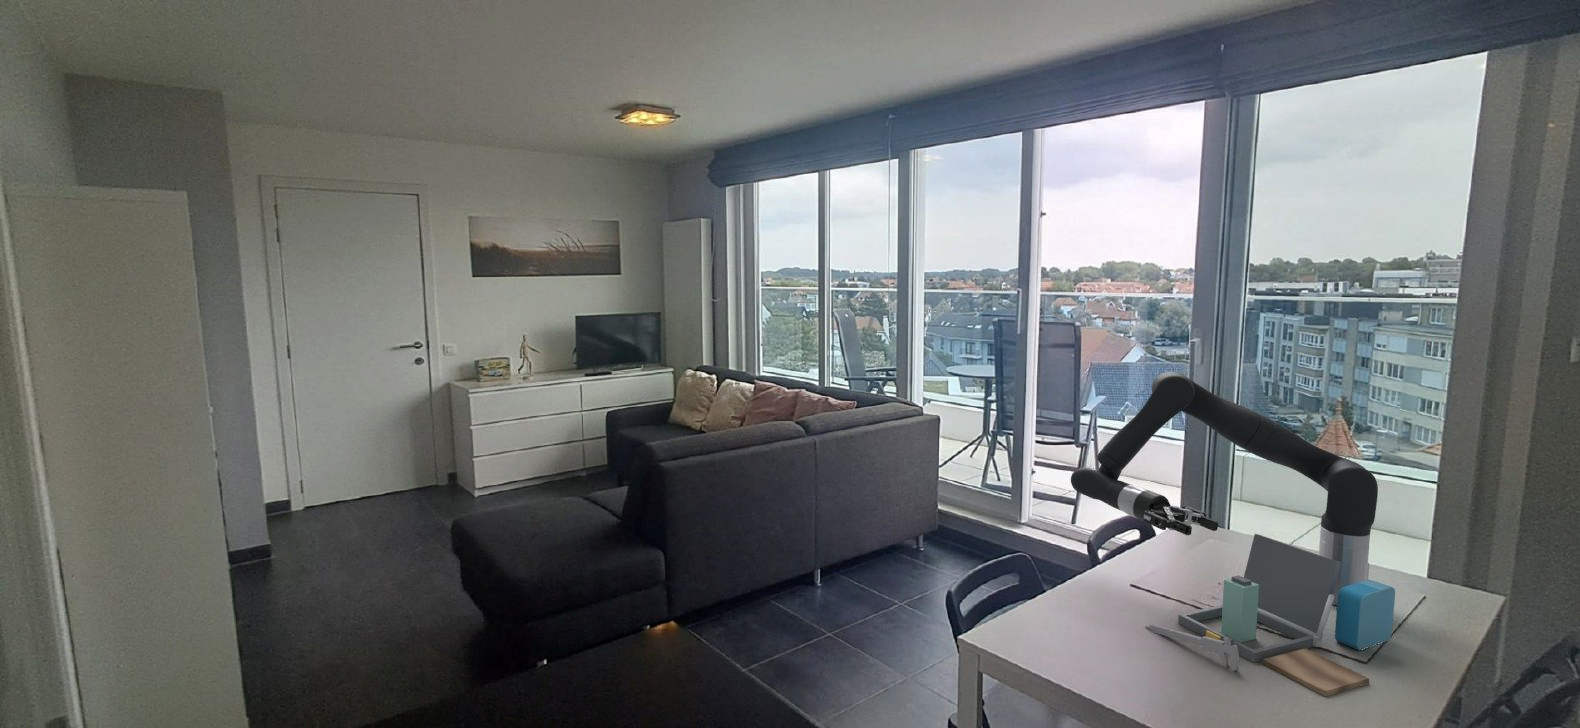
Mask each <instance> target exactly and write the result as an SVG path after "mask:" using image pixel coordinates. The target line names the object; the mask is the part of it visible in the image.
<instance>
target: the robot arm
mask: <svg viewBox="0 0 1580 728" xmlns="http://www.w3.org/2000/svg"><path fill="white" fill-rule="evenodd" d="M1151 384H1152V385H1151V394H1150V396H1149V397H1148V399H1147V401H1146V402H1145V404H1144V405H1143V407H1142V408H1141V409H1140V410H1139V412H1138V413H1137V414H1135V416H1134V417H1133V418H1131V420H1130V421H1129V422H1128V423H1126V424H1125V425H1124V426H1123V427H1122V428H1120V430H1118V431H1117V432H1116V433H1115V434H1113V436H1112V437H1111V439H1109V440H1108V442H1107V443H1106V444H1105V445H1104V446H1103V448H1102V449H1101V450H1100V451H1099V452H1098V454H1097V456H1096V460H1097V461H1098V462H1099V464H1100V466H1099V468H1098V469H1097V470H1094V469H1092V468H1090V467H1079V468H1077V469H1075V470H1074V471H1073V472H1072V473H1071V476H1070V485H1071V486H1072V488H1073V489H1074V491H1076V492H1077V493H1079V494H1081V495H1083V496H1086V497H1087V498H1090V499H1093V500H1097V501H1100V502H1102V503H1104V504H1106V505H1108V506H1110V507H1112V508H1114V509H1116V510H1119V511H1121V512H1123V513H1124V514H1126V515H1128V516H1131V517H1132V518H1135V519H1137V520H1139V521H1141V522H1144V523H1147V524H1148V525H1150V526H1152V527H1155V528H1157V529H1159V530H1161V531H1166V530H1169V531H1176V532H1177V533H1180V534H1183V535H1185V536H1191V535H1192V529H1193V527H1192V526H1191V525H1196V526H1200V527H1203V528H1204V529H1208V530H1210V531H1213V532H1216V531H1217V530H1218V527H1219V523H1218V521H1217V520H1214V519H1211V518H1209V517H1207V514H1208V513H1207V512H1205V511H1203V510H1199V509H1196V508H1193V507H1190V506H1188V505H1186V504H1184V505H1181V507H1179V506H1178V505H1171V503H1170V502H1169V499H1168V498H1167V497H1166V496H1164V495H1163V494H1160V493H1157V492H1154V491H1152V490H1149V489H1146V488H1144V487H1140V486H1138V485H1133V484H1131V483H1128V482H1125V481H1122V480H1119V478H1120V477H1121V475H1122V474H1121V473H1122V471H1123V470H1124V469H1125V468H1126V466H1128V465H1129V463H1130V462H1131V461H1132V460H1133V459H1134V458H1135V457H1136V455H1137V454H1138V453H1139V452H1140V451H1141V450H1142V449H1143V447H1145V445H1146V444H1147V443H1148V442H1149V441H1150V440H1151V438H1152V437H1153V436H1154V435H1156V433H1157V432H1158V431H1159V430H1161V428H1163V426H1165V425H1166V424H1167V423H1168V422H1169V421H1171V420H1172V419H1173V418H1174V417H1176V415H1177V416H1178V414H1179V413H1181V412H1182V413H1185V414H1187V415H1189V416H1191V417H1194V419H1195V418H1196V419H1197V420H1198V421H1200V422H1202V423H1204V424H1205V425H1207V426H1208V427H1209V428H1211V429H1212V430H1213V431H1214V432H1216V433H1217V434H1218V435H1220V436H1222V438H1225V439H1226V440H1227V441H1229V442H1231V443H1232V444H1234V445H1236V446H1237V447H1239V448H1241V449H1243V450H1244V451H1247V452H1248V453H1251V454H1252V455H1253V456H1254V455H1255V456H1257V457H1259V458H1261V459H1264V460H1266V461H1269V462H1271V463H1274V464H1277V465H1280V466H1283V467H1285V468H1286V467H1287V468H1289V469H1292V470H1293V471H1296V472H1298V473H1300V474H1301V475H1303V476H1305V477H1306V478H1308V479H1310V480H1312V481H1313V482H1314V483H1315V484H1318V485H1319V486H1320V487H1322V488H1323V489H1324V490H1325V491H1327V499H1326V510H1325V511H1324V513H1323V514H1322V515H1321V520H1320V531H1319V532H1320V534H1319V544H1318V545H1319V547H1318V548H1319V549H1318V555H1321V556H1324V557H1326V558H1329V559H1332V560H1335V561H1338V562H1341V566H1340V570H1339V574H1338V578H1337V582H1336V585H1335V589H1334V593H1333V595H1334V600H1333V604H1332V606H1333V605H1334V606H1337V601H1338V593H1339V591H1340V589H1341V588H1342V587H1345V586H1349V585H1352V584H1355V583H1359V582H1362V581H1365V580H1369V575H1370V574H1369V573H1370V563H1369V553H1370V552H1369V551H1370V538H1371V530H1372V526H1373V525H1374V523H1375V520H1376V512H1377V506H1378V505H1377V503H1378V495H1379V494H1378V493H1379V486H1378V481H1377V478H1376V477H1375V476H1374V474H1373V473H1372V472H1370V471H1369V470H1368V469H1366V467H1365V466H1362V465H1361V464H1360V463H1358V462H1356V461H1354V460H1350V459H1348V458H1346V457H1342V456H1340V455H1337V454H1335V453H1332V452H1331V451H1327V450H1326V449H1323V448H1320V447H1318V446H1316V445H1314V444H1312V443H1310V442H1309V441H1307V440H1306V439H1304V438H1302V436H1300V435H1299V434H1297V433H1295V432H1293V431H1292V430H1291V429H1289V428H1287V427H1285V426H1283V425H1282V424H1280V423H1278V422H1277V421H1274V420H1272V419H1270V418H1268V417H1267V416H1265V415H1262V414H1261V413H1258V412H1256V411H1254V410H1251V409H1250V408H1247V407H1246V406H1243V405H1241V404H1239V403H1235V402H1233V401H1231V400H1228V399H1225V398H1224V397H1221V396H1218V395H1216V394H1215V393H1212V392H1211V391H1209V390H1207V389H1206V388H1204V387H1203V386H1201V385H1200V384H1198V383H1196V382H1195V381H1193V380H1192V379H1191V378H1190V377H1187V376H1186V375H1185V374H1184V373H1181V372H1178V371H1166V372H1162V373H1160V374H1158V375H1157V376H1156V377H1155V378H1154V379H1153V381H1152V383H1151ZM1186 519H1187V520H1186Z"/></svg>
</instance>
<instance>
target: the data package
mask: <svg viewBox="0 0 1580 728" xmlns="http://www.w3.org/2000/svg"><path fill="white" fill-rule="evenodd" d="M1395 601H1396V589H1395V588H1394V587H1393V586H1390V585H1388V584H1384V583H1382V582H1379V581H1376V580H1372V579H1368V580H1365V581H1362V582H1359V583H1355V584H1352V585H1349V586H1345V587H1342V588H1341V589H1340V591H1339V593H1338V601H1337V605H1336V617H1335V630H1334V639H1335V640H1336V642H1338V643H1340V642H1341V644H1343V645H1345V646H1347V647H1350V648H1352V647H1353V648H1352V649H1355V648H1356V650H1357V649H1358V651H1360V650H1362V649H1364V648H1366V647H1370V648H1372V647H1371V646H1373V645H1375V644H1378V643H1381V642H1384V643H1386V641H1387V642H1389V640H1390V639H1391V637H1392V634H1393V623H1394V612H1395ZM1381 644H1382V643H1381ZM1378 645H1379V644H1378ZM1373 647H1374V646H1373ZM1362 651H1363V650H1362Z"/></svg>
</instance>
